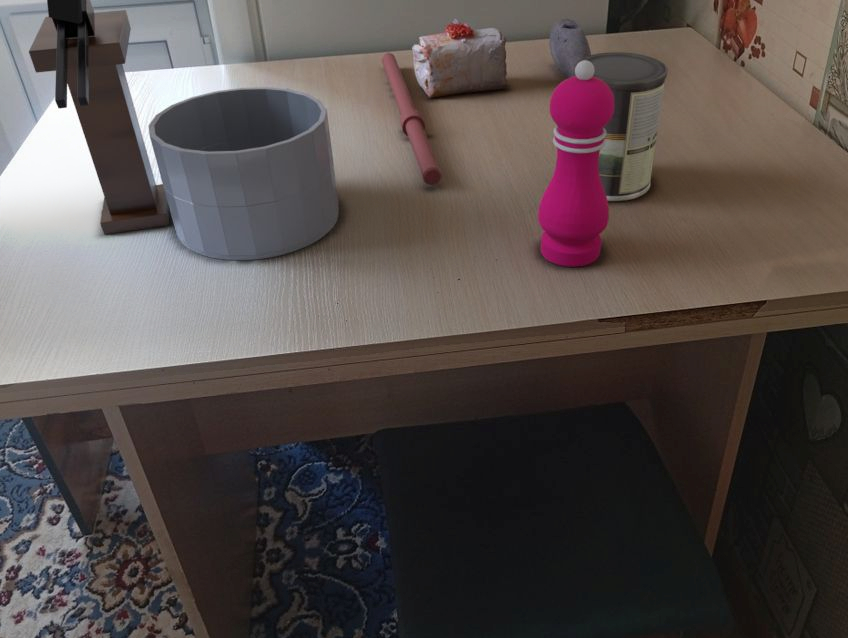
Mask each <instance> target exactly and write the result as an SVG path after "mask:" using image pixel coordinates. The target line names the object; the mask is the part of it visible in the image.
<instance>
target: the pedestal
mask: <svg viewBox="0 0 848 638" xmlns="http://www.w3.org/2000/svg"><path fill="white" fill-rule="evenodd" d="M94 17H95V36H88V65H89V105H86V106H80V103H79V101H78V98H77V83H78V37H76V38H68V68H67V88H68V90H69V93H70V96H71V99H72V102H73V105H74V108H75V111H76V115H77V118H78V120H79V124H80V127H81V129H82V134H83V136H84V139H85V142H86V145H87V148H88V152H89V154H90V157H91V161H92V163H93V166H94V167H93V168H94V169H95V172H96V173H95V174H96V176H97V179H98V181H99V182H98V183H99V185H100V188H101V190H102V194H103V203H102V210H101V216H100V223H99V224H100V227H101V230H102V233H103V235H110V234H111V235H112V234H117V233H124V232H132V231H139V230H145V229H153V228H160V227H166V226H170V208H169V205H168V201H167V198H166V194H165V190H164V187H163V183H160V184H157V182H156V180H155V176H154V172H153V169H152V165H151V161H150V158H149V154H148V151H147V147H146V144H145V141H144V137H143V134H142V129H141V126H140V123H139V119H138V115H137V112H136V111H137V110H136V108H135V104H134V102H133V101H134V100H133V97H132V94H131V91H130V87H129V82H128V80H127V76H126V75H127V74H126V73H125V68H124V66H123V65H125V64H126V61H127V54H128V48H129V42H130V36H131V24H130V20H129V18H128V17H129V15H128V13H127V10H125V9H123V10H110V11H100V12H99V11H98V12H94ZM56 53H57V31H56V28H55V25H54V23H53V20H52V18H50V17H49V16H45V17H44V19H43V20H42V23H41V25H40V27H39V29H38V31H37V33H36V36H35V38H34V40H33V42H32V44H31V45H30V48H29V50H28V54H29V57H30V59H31V63H32V65H33V68H34V71H35V73H37V74H38V73H47V72H56Z"/></svg>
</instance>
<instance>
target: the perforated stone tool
mask: <svg viewBox="0 0 848 638" xmlns="http://www.w3.org/2000/svg"><path fill="white" fill-rule="evenodd" d="M548 43H549V44H548V45H549V51H550V55H551V57H552V60H553V63H554V64H555V66H556V67H557V68H558V70H559V71H560V72H561V74H563V75H564V76H565V77H566V79H568V78H570V77H574V76H575V74H574V65H575V63H576V62H577V61H578V60H580V59H582V58H584V57H586V56H590V55H592V53H591V48H590V45H589V41H588V39H587V36H586V34H585V31H584V29H582V27H581V26H580V25H579V24H578V23H577V22H575V21H574V20H573V19H570V18H560V19H558V20H557V21H555V23H554V24H553V25H552V27H551V31H550V34H549V41H548Z"/></svg>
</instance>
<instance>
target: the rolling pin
mask: <svg viewBox="0 0 848 638" xmlns="http://www.w3.org/2000/svg"><path fill="white" fill-rule="evenodd" d="M381 63H382V65H383V68H384V71H385V74H386V77H387V80H388V82H389V85H390V89H391V91H392V95H393V98H394V99H395V103H396V105H397V108H398V111H399V114H400V119H399V124H400V127H401V130H402V132H403V134H404V135H405V136H406V137H407V138H408V139H409V142H410V145H411V148H412V151H413V154H414V157H415V160H416V163H417V165H418V168H419V171H420V174H421V177H422V180H423V182H425V183H426V184H427V185H430V186H431V185H432V186H433V185H436V184H438V183H439V182H440V181H441V179H442V171H441V170H440V167H439V165H438V162H437V160H436V156H435V154H434V152H433V149H432V146H431V144H430V141H429V139H428V137H427V134H426V132H425V131H426V123H425V120H424V117H423V115H422V114H421V112H419V111H418V110H417V109H416V106H415V104H414V101H413V99H412V97H411V94H410V92H409V89H408V87H407V84H406V81H405V78H404V75H403V74H402V72H401V69H400V66H399V63H398V61H397V58H396V56H395V55H394V54H393V53H391V52H386V53H384V54H383V55H382V57H381Z"/></svg>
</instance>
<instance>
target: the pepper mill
mask: <svg viewBox="0 0 848 638" xmlns="http://www.w3.org/2000/svg"><path fill="white" fill-rule="evenodd" d="M575 75H576V76H574V77H570V78H566V79H564V80H562V81H561V82H560V83H559V84H558V85H557V86H556V87H554V90H553V92H552V94H551V96H550V101H549V114H550V115H549V116H550V117H551V119H552V121H553V122H554V124H555V125H556V126H555V127H554V128H553V138H552V143H553V145H554V146H555V147H556V162H555V168H554V171H553V174H552V177H551V179H550V181H549V183H548V185H547V187H546V188H545V190H544V192H543V194H542V197H541V199H540V202H539V205H538V212H537V220H538V224H539V226H540V228H541V229H542V231H543V232H542V234H541V238H540V239H541V242H540V253H541V255H542V256H543V258H545V260H547V261H548V262H550V263H552V264H555V265H557V266H562V267H566V268H568V267H569V268H570V267H571V268H576V267H577V268H578V267H584V266H587V265H588V266H589V265H590V264H592V263H594V262H596V261H597V259H598V258H599V257H600V255H601V248H602V237H601V234H602V233H603V232H604V231H605V230H606V228H607V226H608V224H609V217H610V208H609V201H607V197H606V194H605V191H604V188H603V185H602V182H601V179H600V175H599V169H598V165H599V153H600V149H602V148H603V147H604V145H605V136H606V130H605V128H604V126H605V125H606V124H607V123H608V122H609V121H610V120H611V118H612V116H613V113H614V97H613V93H612V91H611V89H610V88H609V86H608V85H607V84H606V83H605V82H603V81H602V80H600V79H598V78H595V77H592V76H593V75H594V66H593V64H592V63H591V62H590V61H587V60H584V61H581V62H579V63H578V64H577V66H576V68H575Z"/></svg>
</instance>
